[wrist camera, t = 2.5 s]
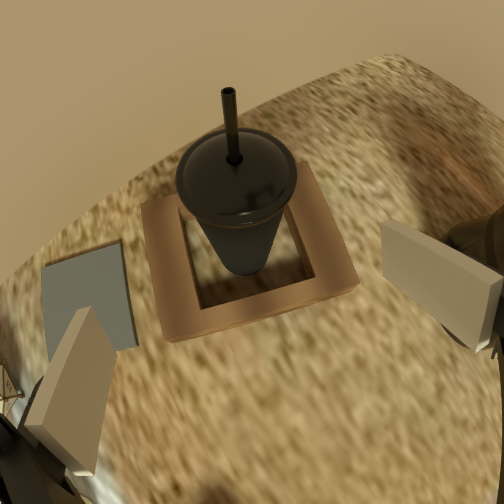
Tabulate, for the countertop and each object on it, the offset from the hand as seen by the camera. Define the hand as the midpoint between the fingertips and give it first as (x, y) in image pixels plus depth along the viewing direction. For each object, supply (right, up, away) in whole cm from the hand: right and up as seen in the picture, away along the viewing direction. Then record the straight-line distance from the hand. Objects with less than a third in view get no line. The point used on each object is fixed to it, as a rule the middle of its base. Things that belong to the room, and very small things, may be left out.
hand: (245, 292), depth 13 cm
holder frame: (-1, +2, +19) cm, 19 cm away
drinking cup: (-1, +2, +19) cm, 19 cm away
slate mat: (-18, -4, +17) cm, 25 cm away
